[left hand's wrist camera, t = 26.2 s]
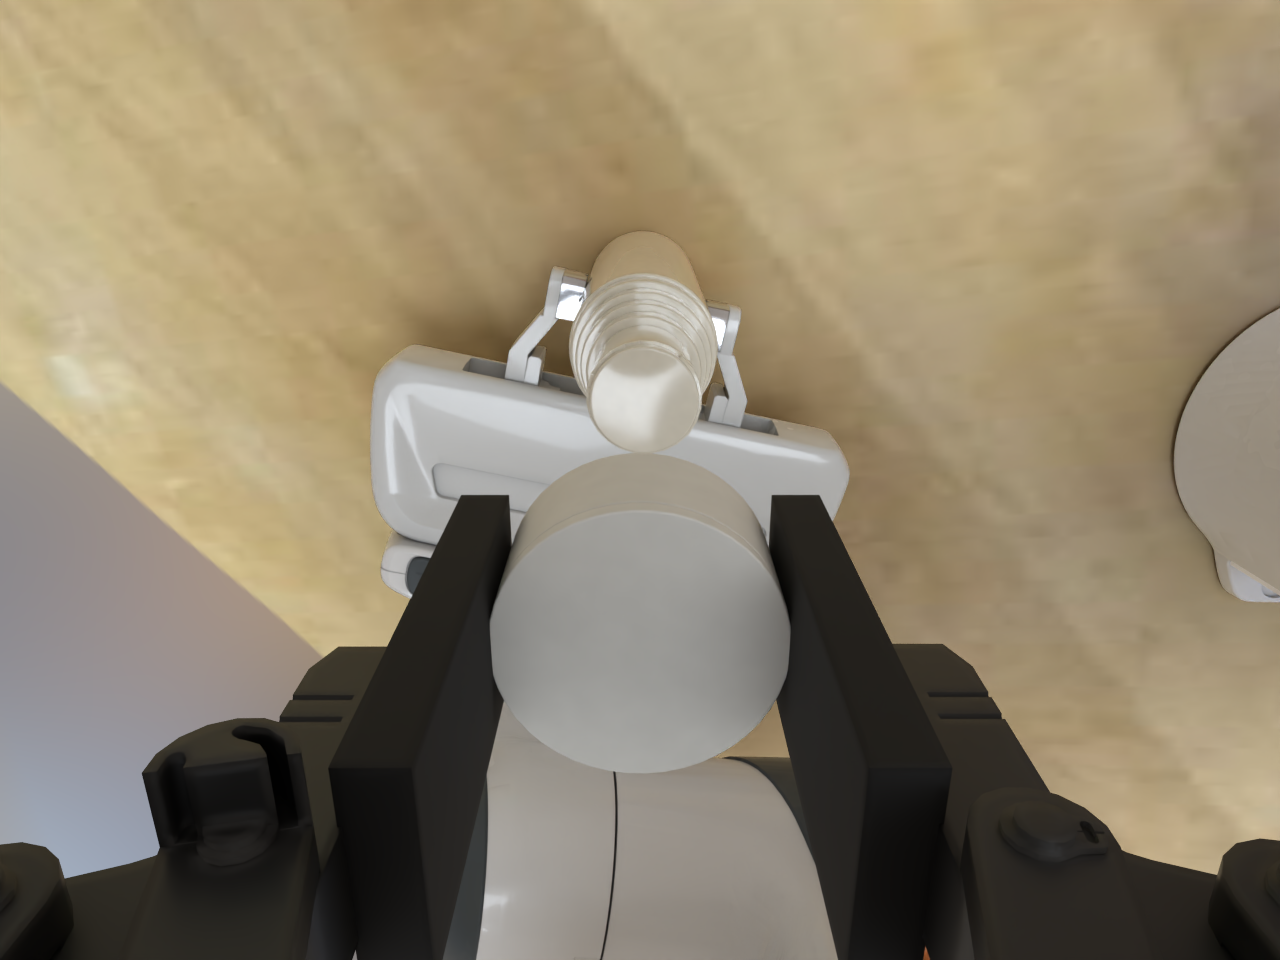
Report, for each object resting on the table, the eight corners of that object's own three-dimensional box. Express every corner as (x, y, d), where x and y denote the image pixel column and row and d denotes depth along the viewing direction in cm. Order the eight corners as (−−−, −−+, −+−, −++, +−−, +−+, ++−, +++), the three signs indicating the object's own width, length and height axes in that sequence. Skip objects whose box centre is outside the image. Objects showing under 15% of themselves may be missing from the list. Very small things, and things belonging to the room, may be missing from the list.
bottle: (639, 357, 44) (638, 522, 26) (568, 281, 43) (512, 396, 24) (716, 287, 43) (775, 407, 24) (645, 207, 42) (649, 268, 23)
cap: (713, 714, 16) (724, 807, 13) (477, 641, 15) (451, 726, 13) (812, 502, 14) (842, 569, 12) (556, 414, 14) (540, 467, 12)
